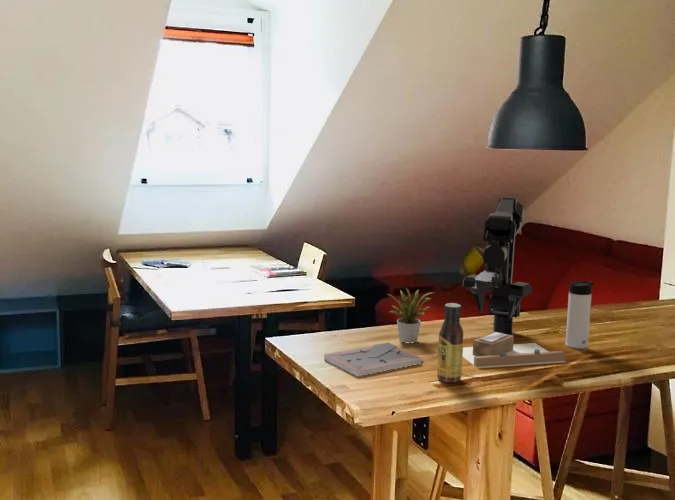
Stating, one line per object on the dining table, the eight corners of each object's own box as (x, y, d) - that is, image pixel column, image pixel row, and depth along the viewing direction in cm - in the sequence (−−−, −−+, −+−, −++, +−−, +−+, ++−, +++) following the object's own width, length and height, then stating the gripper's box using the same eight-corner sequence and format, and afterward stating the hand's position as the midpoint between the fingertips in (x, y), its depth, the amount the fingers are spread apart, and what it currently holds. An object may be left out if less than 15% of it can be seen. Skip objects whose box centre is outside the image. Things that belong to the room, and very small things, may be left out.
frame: (472, 354, 218) (473, 339, 217) (494, 345, 226) (495, 330, 226) (491, 359, 214) (492, 343, 213) (513, 349, 223) (513, 334, 222)
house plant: (445, 341, 232) (448, 288, 230) (417, 351, 222) (419, 295, 220) (408, 332, 242) (409, 280, 239) (379, 341, 232) (380, 287, 229)
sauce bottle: (434, 375, 202) (437, 301, 199) (458, 375, 203) (461, 301, 199) (439, 384, 196) (442, 307, 192) (464, 384, 196) (467, 307, 193)
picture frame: (387, 350, 226) (324, 362, 214) (388, 342, 225) (324, 353, 214) (423, 366, 212) (357, 379, 200) (423, 357, 211) (357, 370, 200)
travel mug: (589, 352, 224) (594, 284, 220) (566, 350, 225) (570, 283, 222) (587, 346, 230) (592, 279, 226) (564, 344, 231) (568, 278, 228)
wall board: (451, 350, 224) (452, 336, 223) (534, 345, 230) (535, 331, 229) (477, 370, 206) (478, 355, 206) (566, 364, 212) (567, 349, 212)
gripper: (453, 259, 215) (451, 314, 218) (514, 269, 203) (511, 327, 206) (474, 254, 224) (472, 307, 226) (534, 263, 212) (530, 319, 214)
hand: (495, 315), depth 218 cm, fingers open, 9 cm apart
